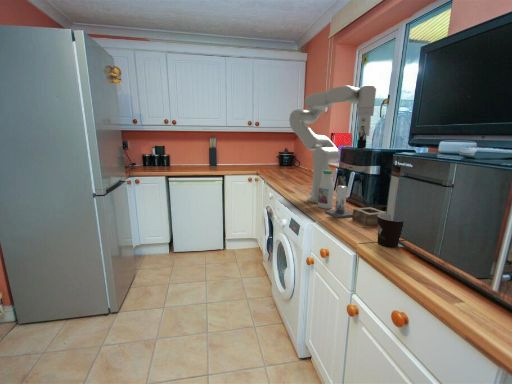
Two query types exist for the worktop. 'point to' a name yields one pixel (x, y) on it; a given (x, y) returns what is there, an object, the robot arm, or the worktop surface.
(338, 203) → the steel pin
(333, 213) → the rubber mat
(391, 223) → the coffee mug
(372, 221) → the open square box
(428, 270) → the worktop surface
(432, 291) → the worktop surface
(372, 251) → the worktop surface
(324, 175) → the milk bottle
